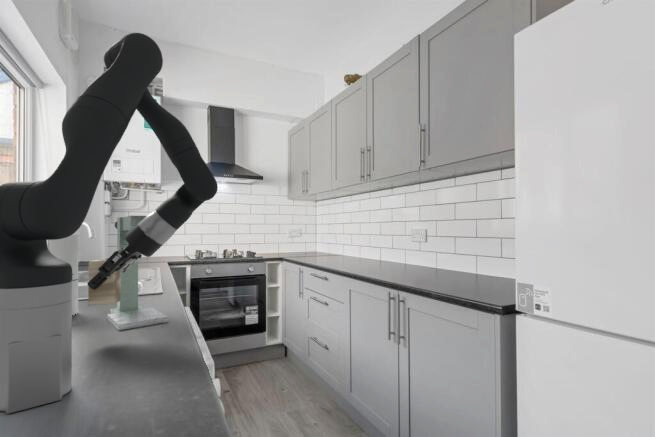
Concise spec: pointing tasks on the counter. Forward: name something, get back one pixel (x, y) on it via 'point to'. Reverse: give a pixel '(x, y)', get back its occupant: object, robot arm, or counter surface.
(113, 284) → the block
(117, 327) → the press
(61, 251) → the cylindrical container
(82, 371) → the counter surface
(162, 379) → the counter surface
